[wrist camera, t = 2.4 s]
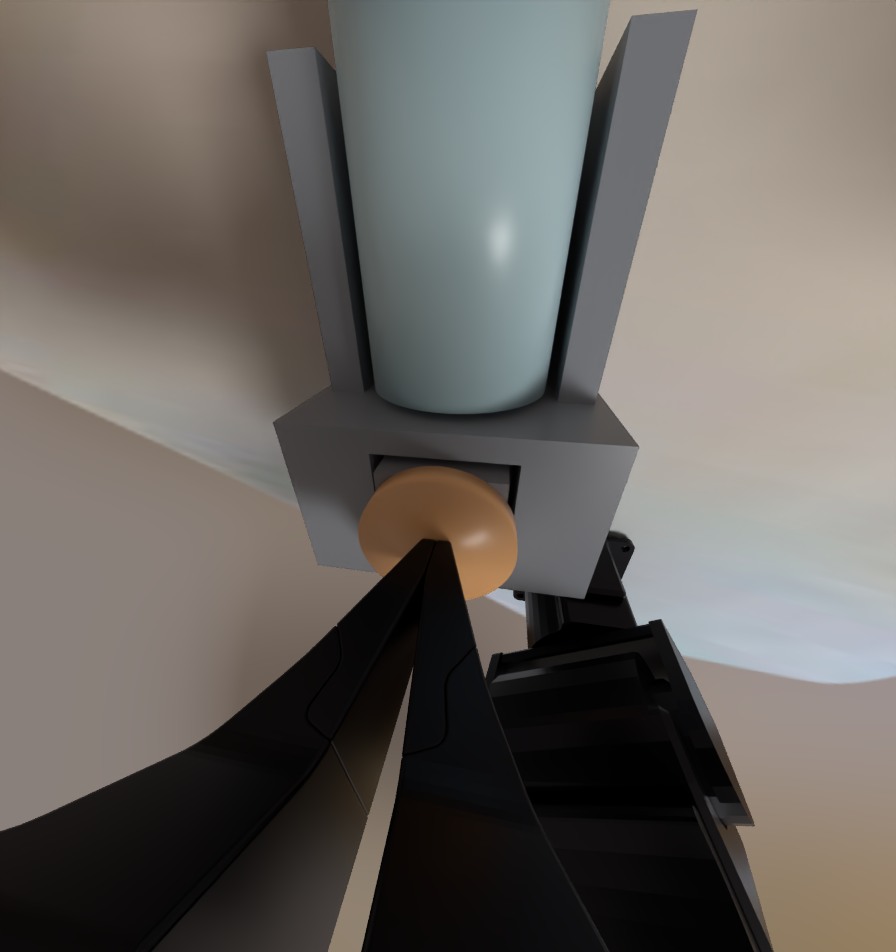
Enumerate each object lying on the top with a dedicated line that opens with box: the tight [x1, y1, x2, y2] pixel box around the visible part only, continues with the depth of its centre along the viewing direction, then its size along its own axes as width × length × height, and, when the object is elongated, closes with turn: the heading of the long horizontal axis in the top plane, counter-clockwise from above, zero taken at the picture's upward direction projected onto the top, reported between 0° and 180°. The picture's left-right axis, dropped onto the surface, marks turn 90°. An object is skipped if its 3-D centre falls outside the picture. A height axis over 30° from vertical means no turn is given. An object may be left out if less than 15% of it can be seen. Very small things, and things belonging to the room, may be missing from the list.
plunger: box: [358, 455, 518, 600], centre depth 11 cm, size 5×5×4 cm
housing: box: [266, 10, 697, 599], centre depth 11 cm, size 14×10×8 cm
